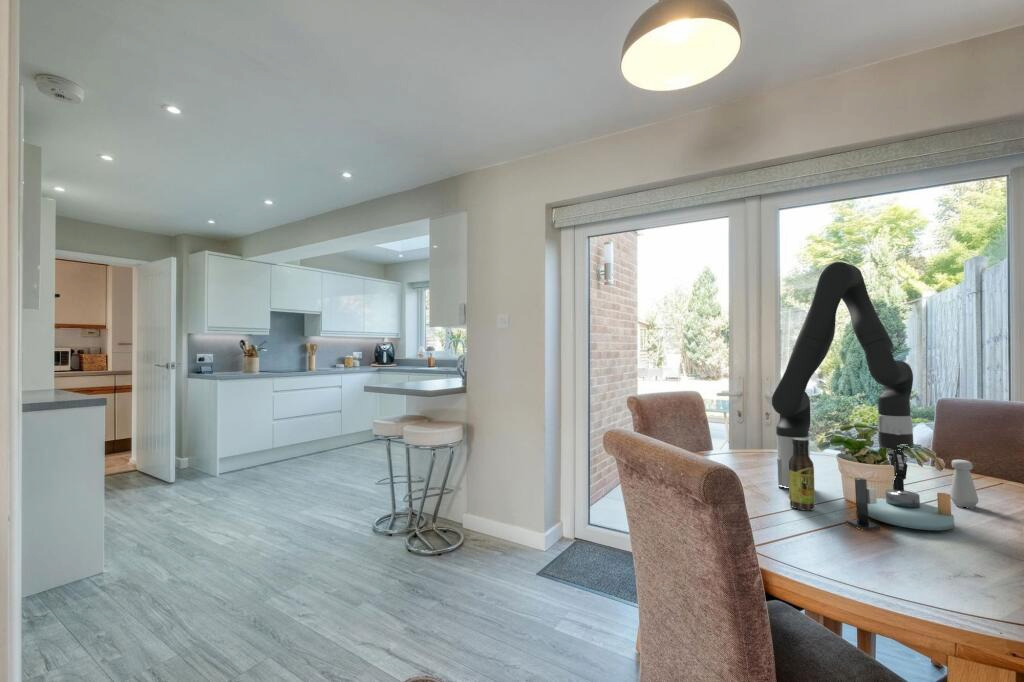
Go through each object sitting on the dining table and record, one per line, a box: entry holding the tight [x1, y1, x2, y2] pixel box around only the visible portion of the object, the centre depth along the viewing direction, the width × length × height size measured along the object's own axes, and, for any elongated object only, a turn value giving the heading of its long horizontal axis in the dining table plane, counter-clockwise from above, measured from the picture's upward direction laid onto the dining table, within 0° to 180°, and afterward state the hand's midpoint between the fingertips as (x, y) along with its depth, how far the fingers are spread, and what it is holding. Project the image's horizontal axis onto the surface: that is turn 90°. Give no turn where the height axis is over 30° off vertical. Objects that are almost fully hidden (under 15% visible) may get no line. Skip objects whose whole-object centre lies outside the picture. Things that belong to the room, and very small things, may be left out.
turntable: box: [868, 492, 955, 531], centre depth 119 cm, size 18×18×7 cm
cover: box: [884, 488, 921, 509], centre depth 122 cm, size 7×7×3 cm
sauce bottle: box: [788, 438, 816, 511], centre depth 131 cm, size 6×6×20 cm
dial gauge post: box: [845, 477, 882, 531], centre depth 116 cm, size 6×5×12 cm
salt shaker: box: [949, 459, 979, 509], centre depth 129 cm, size 6×6×13 cm
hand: (898, 492), depth 128 cm, fingers closed
